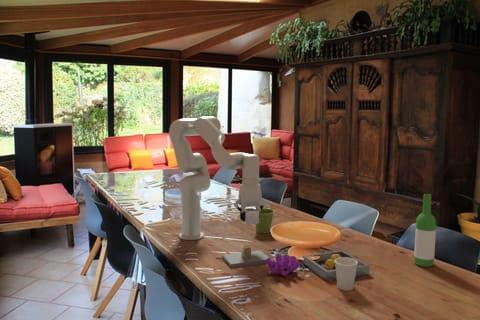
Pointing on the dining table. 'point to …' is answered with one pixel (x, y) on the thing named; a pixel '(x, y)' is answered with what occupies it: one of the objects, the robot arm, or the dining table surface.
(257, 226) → the plant pot
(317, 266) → the grey square tray
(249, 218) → the socket
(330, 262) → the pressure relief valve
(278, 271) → the purple bumpy lump
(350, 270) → the dixie cup
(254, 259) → the board
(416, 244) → the wine bottle
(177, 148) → the robot arm
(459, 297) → the dining table surface
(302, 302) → the dining table surface
